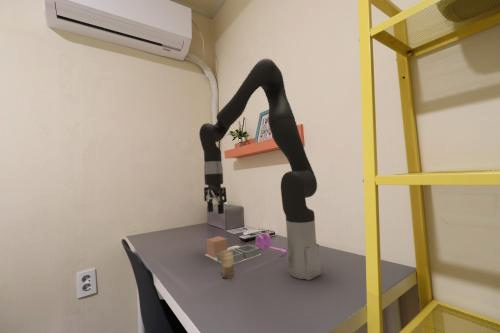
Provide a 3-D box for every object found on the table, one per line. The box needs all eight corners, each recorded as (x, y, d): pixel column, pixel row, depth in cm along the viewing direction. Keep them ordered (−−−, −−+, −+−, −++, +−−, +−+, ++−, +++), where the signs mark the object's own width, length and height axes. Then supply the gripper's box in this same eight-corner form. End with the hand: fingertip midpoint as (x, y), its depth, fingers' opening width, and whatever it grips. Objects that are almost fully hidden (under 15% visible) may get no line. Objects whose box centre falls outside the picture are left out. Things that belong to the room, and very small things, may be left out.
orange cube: (227, 253, 93) (226, 238, 94) (214, 257, 90) (213, 242, 90) (219, 250, 98) (219, 236, 98) (207, 254, 94) (206, 239, 95)
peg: (236, 276, 75) (235, 251, 76) (226, 280, 73) (224, 255, 73) (229, 273, 79) (228, 249, 79) (219, 276, 76) (218, 252, 76)
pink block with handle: (256, 251, 99) (255, 235, 100) (264, 248, 103) (263, 232, 104) (281, 257, 91) (280, 239, 91) (289, 253, 95) (288, 236, 95)
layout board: (261, 258, 91) (261, 247, 91) (227, 270, 81) (226, 258, 81) (236, 248, 104) (236, 239, 104) (204, 258, 94) (204, 248, 94)
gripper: (230, 171, 92) (232, 213, 91) (213, 173, 103) (215, 209, 103) (214, 172, 87) (216, 216, 87) (197, 173, 99) (199, 212, 98)
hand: (215, 212), depth 95 cm, fingers open, 8 cm apart
